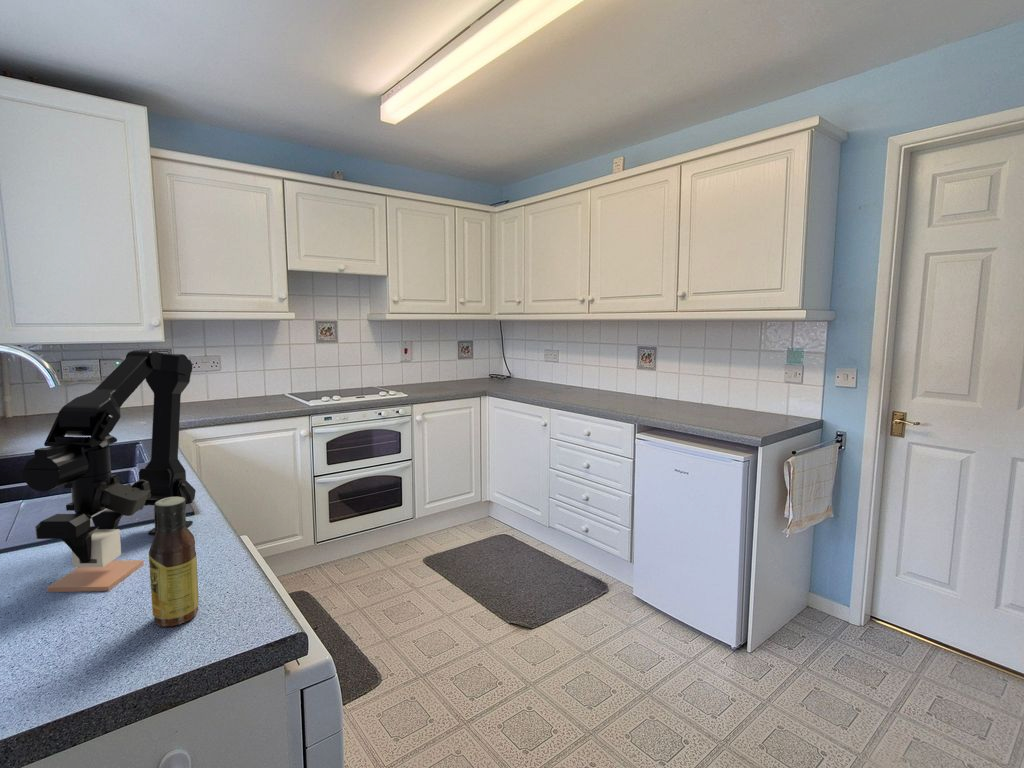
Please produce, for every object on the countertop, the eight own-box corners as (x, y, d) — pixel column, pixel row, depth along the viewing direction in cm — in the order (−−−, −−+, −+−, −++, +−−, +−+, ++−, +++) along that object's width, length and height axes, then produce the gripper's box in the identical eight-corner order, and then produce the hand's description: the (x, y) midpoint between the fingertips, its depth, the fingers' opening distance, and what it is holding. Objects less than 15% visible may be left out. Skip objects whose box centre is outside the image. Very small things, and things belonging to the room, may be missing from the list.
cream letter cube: (92, 554, 98) (91, 529, 97) (121, 554, 98) (119, 529, 97) (72, 567, 93) (70, 540, 92) (102, 567, 93) (100, 540, 92)
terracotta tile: (88, 564, 100) (88, 560, 100) (143, 564, 101) (143, 560, 101) (47, 591, 90) (46, 587, 90) (108, 590, 91) (108, 586, 91)
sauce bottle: (158, 611, 85) (151, 494, 83) (201, 604, 88) (196, 490, 85) (148, 634, 79) (140, 509, 77) (195, 625, 82) (189, 504, 79)
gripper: (102, 490, 85) (109, 580, 87) (167, 459, 103) (172, 534, 105) (29, 490, 84) (37, 581, 86) (108, 458, 102) (113, 534, 104)
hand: (97, 555), depth 95 cm, fingers closed on cream letter cube, 5 cm apart
